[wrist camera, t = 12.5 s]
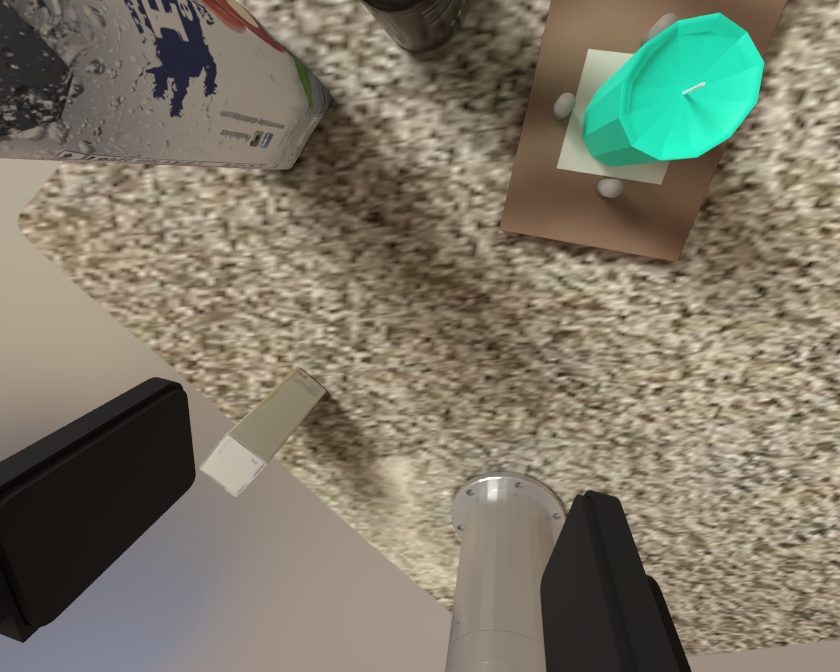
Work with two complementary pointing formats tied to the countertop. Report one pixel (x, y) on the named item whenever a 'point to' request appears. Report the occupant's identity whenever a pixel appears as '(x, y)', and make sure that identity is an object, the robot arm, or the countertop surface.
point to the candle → (676, 94)
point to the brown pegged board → (563, 123)
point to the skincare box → (262, 432)
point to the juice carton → (151, 85)
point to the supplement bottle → (419, 21)
